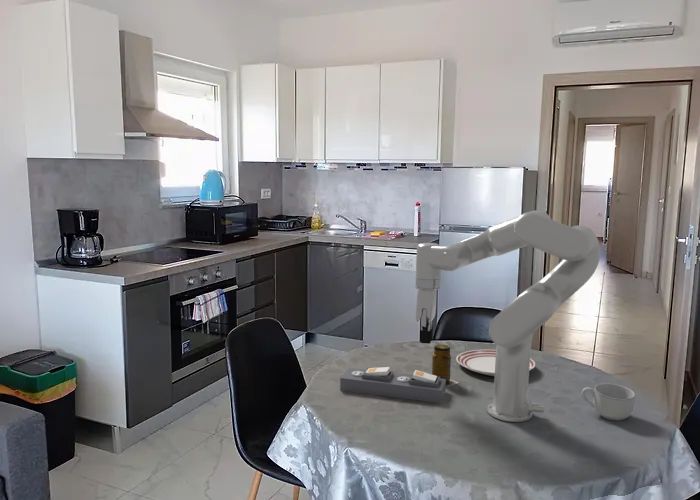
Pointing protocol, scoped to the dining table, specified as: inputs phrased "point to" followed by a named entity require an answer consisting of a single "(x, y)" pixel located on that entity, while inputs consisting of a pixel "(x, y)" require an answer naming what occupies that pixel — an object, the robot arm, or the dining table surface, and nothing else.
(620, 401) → the teacup
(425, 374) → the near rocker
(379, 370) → the far rocker
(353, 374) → the rocker switch panel
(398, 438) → the dining table surface
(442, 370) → the condiment
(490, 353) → the dinner plate
